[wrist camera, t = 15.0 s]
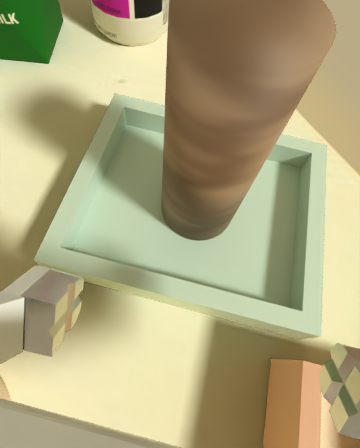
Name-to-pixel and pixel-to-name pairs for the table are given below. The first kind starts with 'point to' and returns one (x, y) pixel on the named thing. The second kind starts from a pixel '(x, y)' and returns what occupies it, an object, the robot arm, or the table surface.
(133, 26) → the supplement can
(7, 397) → the teacup with lid
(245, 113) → the walnut canister
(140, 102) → the sage tray
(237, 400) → the table surface
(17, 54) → the milk carton
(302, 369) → the terracotta holder
